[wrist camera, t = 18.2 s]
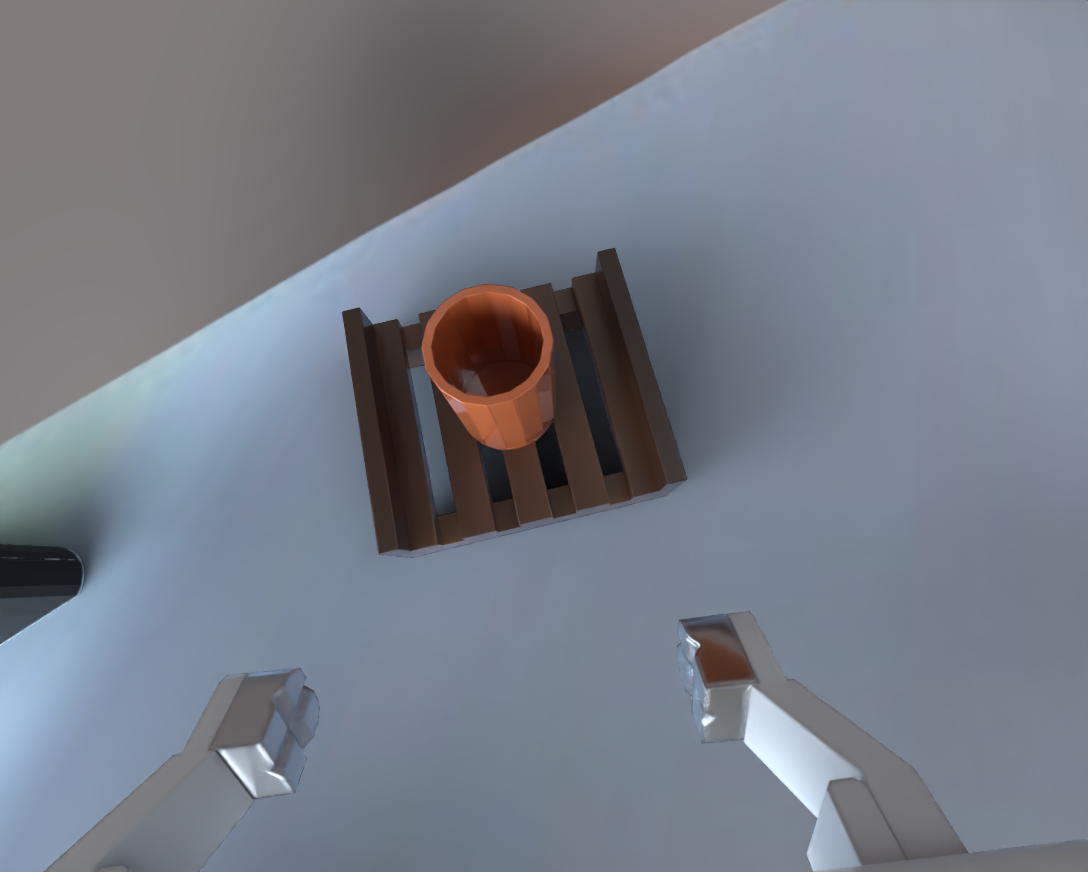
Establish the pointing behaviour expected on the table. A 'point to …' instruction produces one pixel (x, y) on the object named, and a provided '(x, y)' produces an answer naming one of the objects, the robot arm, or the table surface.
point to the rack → (404, 471)
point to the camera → (35, 584)
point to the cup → (494, 364)
